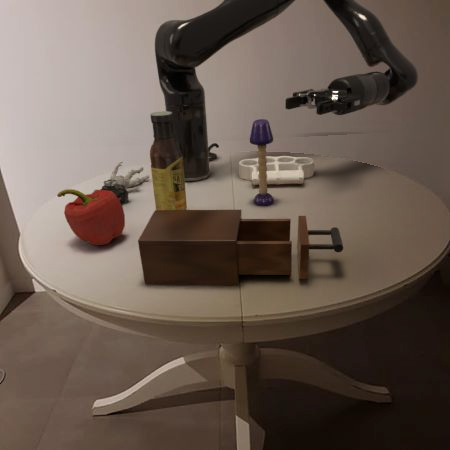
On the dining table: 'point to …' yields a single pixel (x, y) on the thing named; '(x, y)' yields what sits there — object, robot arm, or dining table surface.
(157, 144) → the sauce bottle
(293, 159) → the white brass knuckles
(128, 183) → the grey branched piece
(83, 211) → the vegetable
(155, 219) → the cabinet
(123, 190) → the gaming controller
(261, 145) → the toy lamp
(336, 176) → the dining table surface
